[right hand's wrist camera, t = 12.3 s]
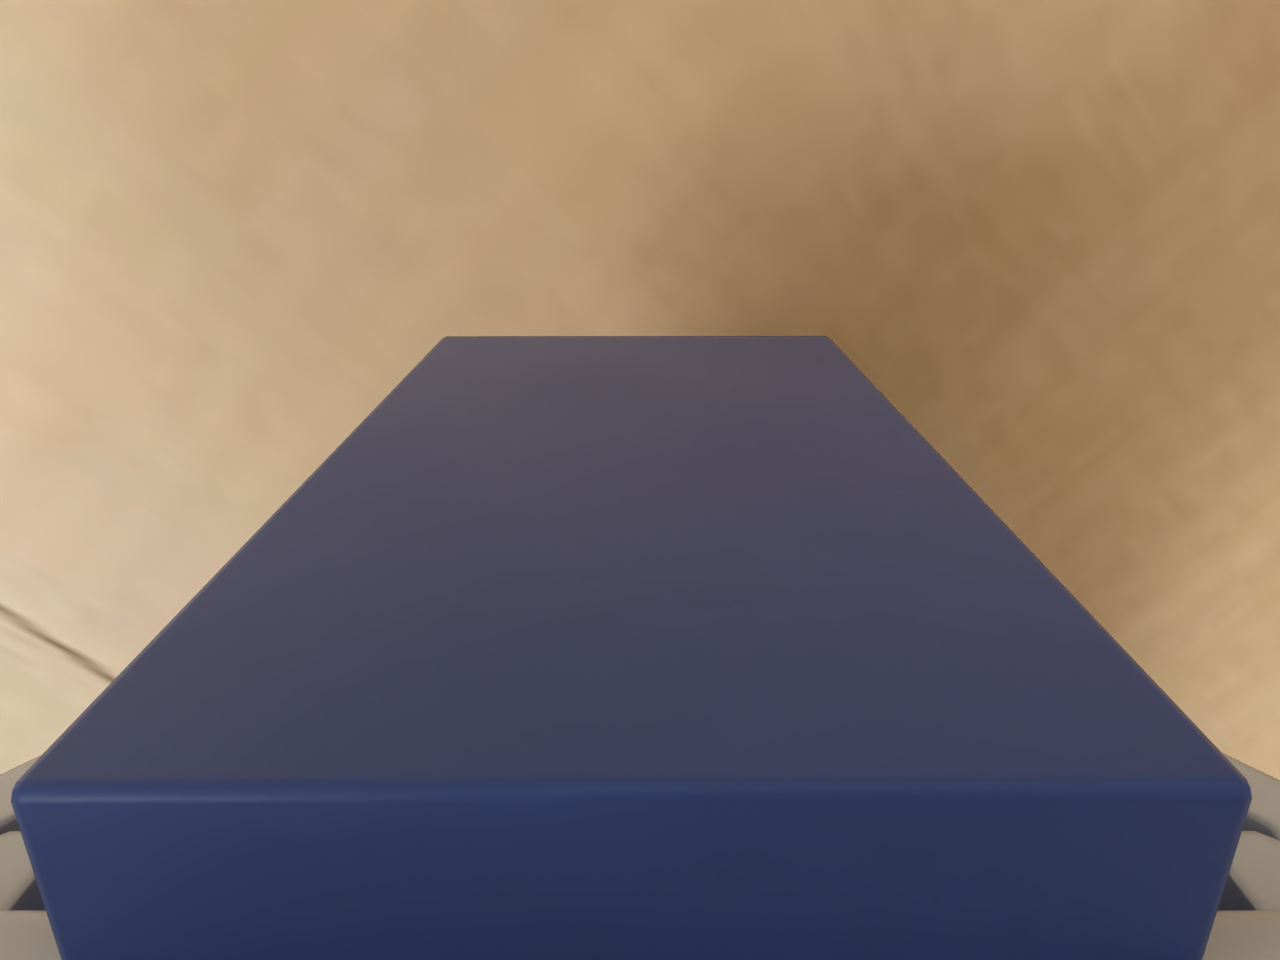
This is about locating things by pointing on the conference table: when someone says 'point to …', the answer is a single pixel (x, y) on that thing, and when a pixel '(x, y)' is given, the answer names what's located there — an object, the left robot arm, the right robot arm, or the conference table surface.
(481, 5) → the conference table surface
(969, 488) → the box
